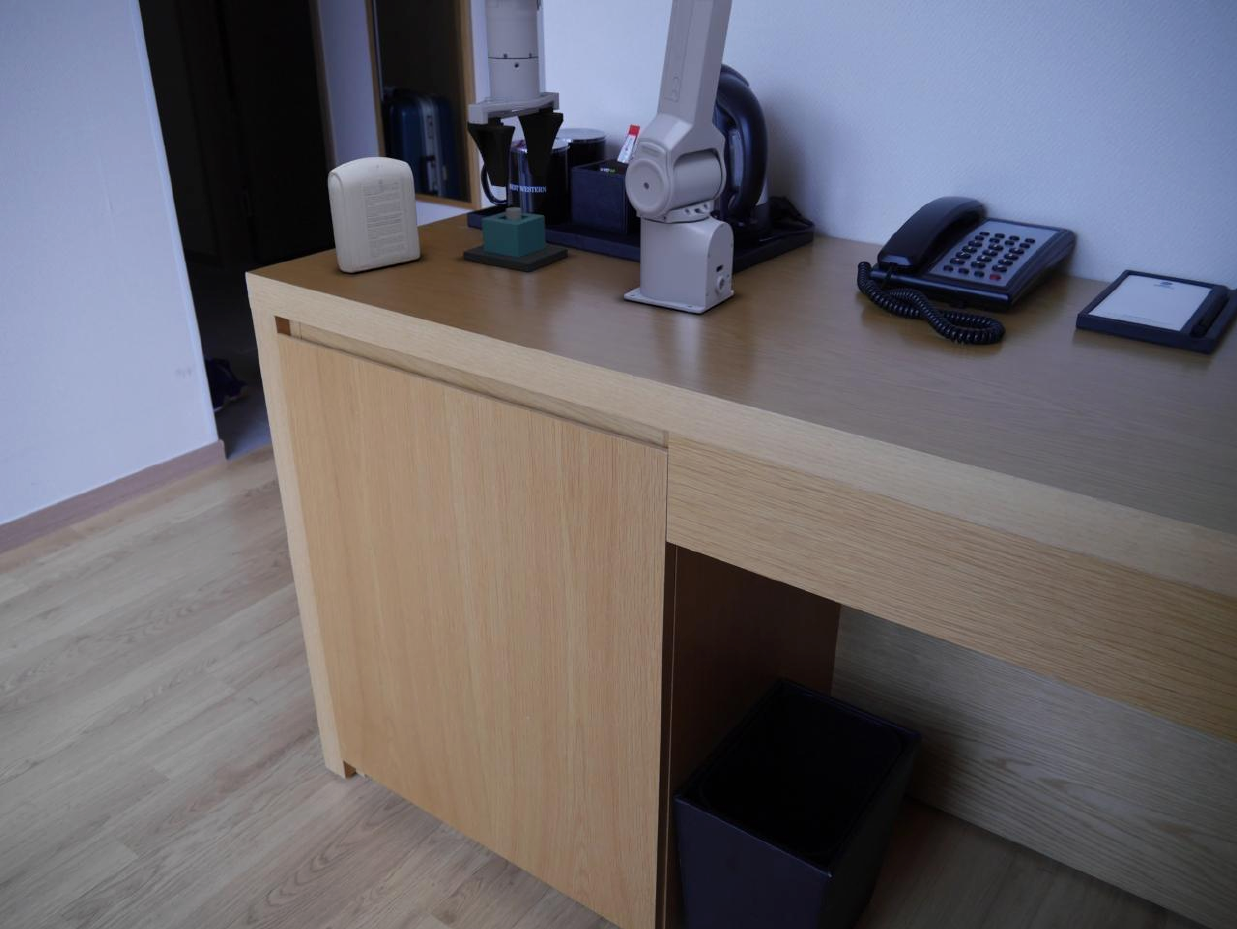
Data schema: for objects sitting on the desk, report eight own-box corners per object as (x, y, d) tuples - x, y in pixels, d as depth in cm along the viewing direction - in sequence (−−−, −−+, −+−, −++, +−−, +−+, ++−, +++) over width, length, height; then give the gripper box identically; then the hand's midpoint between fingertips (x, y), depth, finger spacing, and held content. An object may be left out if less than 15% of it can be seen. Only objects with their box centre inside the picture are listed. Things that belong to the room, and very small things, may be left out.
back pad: (567, 256, 119) (566, 207, 116) (528, 272, 113) (526, 220, 110) (504, 245, 123) (501, 197, 121) (463, 259, 117) (459, 210, 115)
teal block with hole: (545, 248, 118) (544, 215, 116) (518, 258, 114) (517, 224, 112) (511, 242, 121) (509, 210, 119) (483, 251, 117) (481, 218, 115)
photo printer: (407, 252, 120) (396, 150, 114) (426, 259, 117) (416, 154, 112) (333, 269, 114) (317, 161, 108) (351, 276, 111) (337, 166, 105)
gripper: (524, 51, 116) (529, 167, 122) (443, 60, 105) (453, 187, 111) (572, 53, 112) (575, 172, 118) (493, 63, 101) (501, 194, 108)
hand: (519, 180), depth 114 cm, fingers open, 7 cm apart
